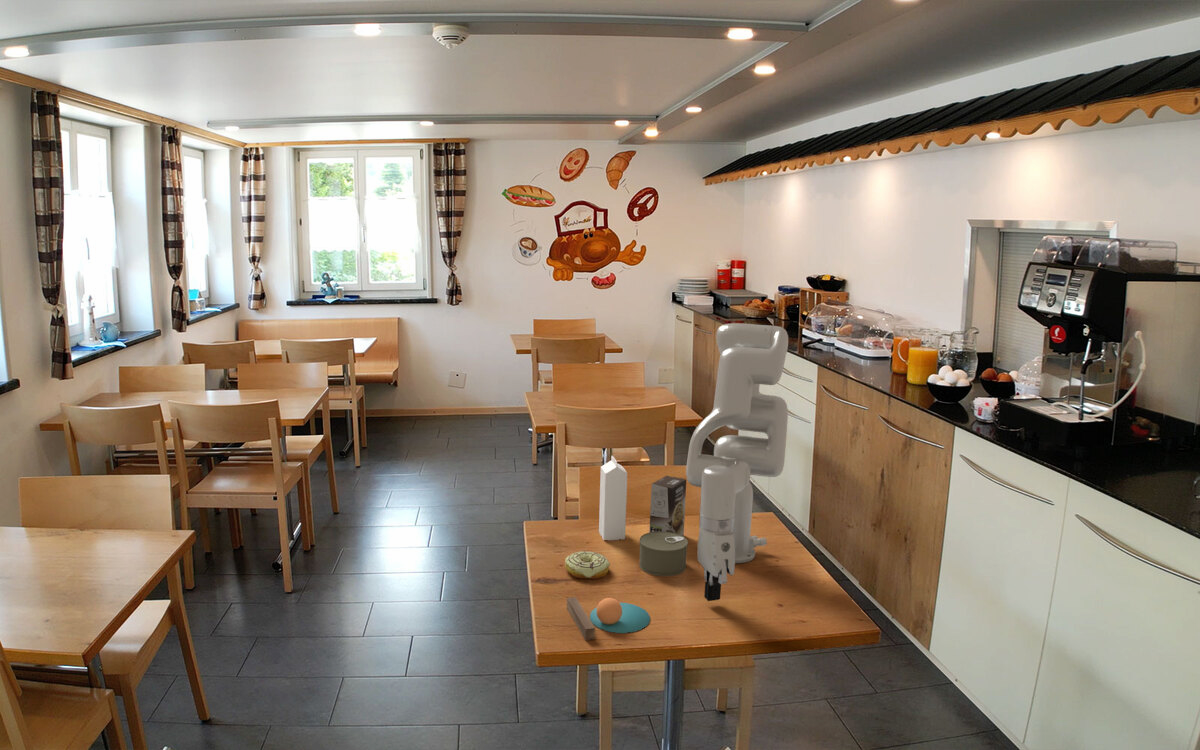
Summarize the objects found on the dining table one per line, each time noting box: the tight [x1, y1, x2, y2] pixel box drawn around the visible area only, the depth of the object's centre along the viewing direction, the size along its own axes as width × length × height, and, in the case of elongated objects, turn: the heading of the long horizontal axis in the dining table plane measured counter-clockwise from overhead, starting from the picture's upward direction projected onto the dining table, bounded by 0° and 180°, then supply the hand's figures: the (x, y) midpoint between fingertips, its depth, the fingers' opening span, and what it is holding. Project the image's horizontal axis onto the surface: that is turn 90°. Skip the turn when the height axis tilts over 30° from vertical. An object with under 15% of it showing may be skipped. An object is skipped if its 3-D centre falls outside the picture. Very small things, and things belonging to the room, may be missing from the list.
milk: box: [598, 455, 628, 541], centre depth 217 cm, size 6×6×22 cm
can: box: [639, 531, 689, 577], centre depth 201 cm, size 12×12×7 cm
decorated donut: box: [564, 551, 611, 580], centre depth 197 cm, size 10×11×4 cm
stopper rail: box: [566, 596, 596, 641], centre depth 172 cm, size 2×14×2 cm, turn 18°
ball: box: [596, 597, 622, 625], centre depth 172 cm, size 6×6×6 cm
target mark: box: [589, 602, 651, 634], centre depth 175 cm, size 13×13×1 cm
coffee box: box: [648, 475, 687, 537], centre depth 217 cm, size 9×6×16 cm
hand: (712, 598), depth 182 cm, fingers closed
